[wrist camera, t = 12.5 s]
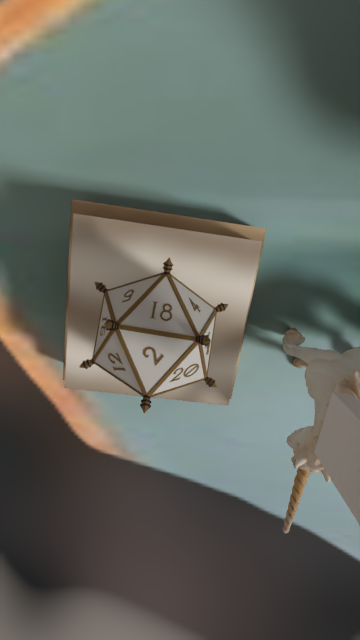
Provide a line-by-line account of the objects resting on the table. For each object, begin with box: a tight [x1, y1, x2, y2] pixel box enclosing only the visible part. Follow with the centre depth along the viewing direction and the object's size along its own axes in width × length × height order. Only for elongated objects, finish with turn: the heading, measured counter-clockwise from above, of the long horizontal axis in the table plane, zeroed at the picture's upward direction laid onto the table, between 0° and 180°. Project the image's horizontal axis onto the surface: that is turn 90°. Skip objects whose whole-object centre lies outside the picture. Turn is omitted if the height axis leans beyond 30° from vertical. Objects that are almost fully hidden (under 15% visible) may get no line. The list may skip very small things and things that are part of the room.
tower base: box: [63, 199, 266, 405], centre depth 27 cm, size 15×15×6 cm
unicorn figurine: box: [283, 328, 360, 533], centre depth 25 cm, size 7×20×13 cm, turn 115°
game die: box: [79, 257, 228, 413], centre depth 20 cm, size 9×8×10 cm
